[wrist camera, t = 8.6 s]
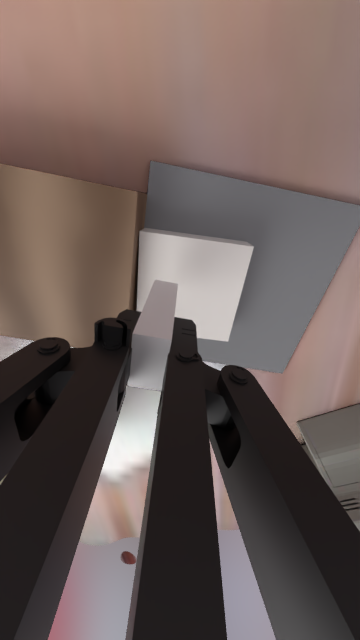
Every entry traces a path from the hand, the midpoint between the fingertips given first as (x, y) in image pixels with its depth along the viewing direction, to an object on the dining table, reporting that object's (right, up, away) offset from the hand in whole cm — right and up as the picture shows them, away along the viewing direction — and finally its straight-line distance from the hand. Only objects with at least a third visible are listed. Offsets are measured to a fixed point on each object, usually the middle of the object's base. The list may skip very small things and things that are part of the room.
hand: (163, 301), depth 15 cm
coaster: (+2, +2, +4) cm, 5 cm away
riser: (-11, +4, +4) cm, 13 cm away
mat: (+6, +2, +5) cm, 8 cm away
